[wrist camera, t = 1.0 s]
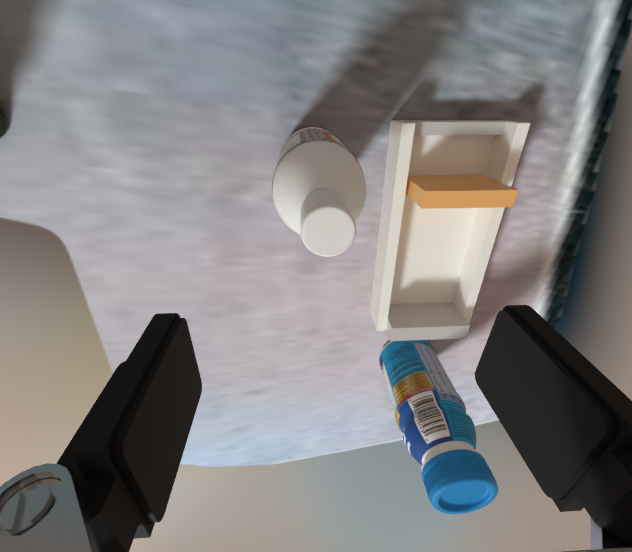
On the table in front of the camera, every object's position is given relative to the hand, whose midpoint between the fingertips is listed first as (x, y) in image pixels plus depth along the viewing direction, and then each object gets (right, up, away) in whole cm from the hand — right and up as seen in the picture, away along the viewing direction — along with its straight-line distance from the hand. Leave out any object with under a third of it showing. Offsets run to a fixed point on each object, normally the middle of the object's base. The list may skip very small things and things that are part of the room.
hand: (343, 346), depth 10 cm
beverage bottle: (+13, -10, +39) cm, 42 cm away
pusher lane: (+13, +8, +29) cm, 32 cm away
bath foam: (-1, +14, +24) cm, 28 cm away
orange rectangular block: (+13, +12, +24) cm, 30 cm away
